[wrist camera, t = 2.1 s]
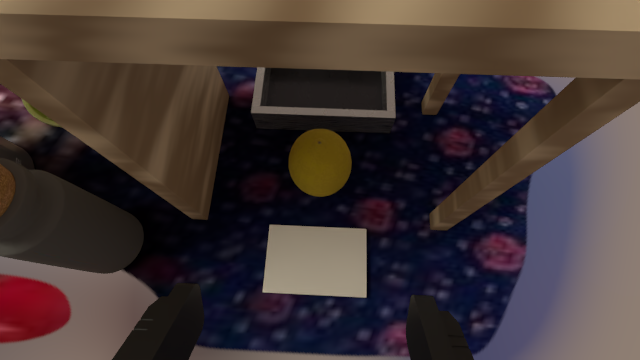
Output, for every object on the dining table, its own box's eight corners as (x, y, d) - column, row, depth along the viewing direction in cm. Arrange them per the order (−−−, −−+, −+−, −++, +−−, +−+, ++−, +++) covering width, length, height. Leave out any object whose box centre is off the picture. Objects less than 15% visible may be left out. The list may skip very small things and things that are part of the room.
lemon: (359, 174, 34) (369, 135, 26) (326, 218, 32) (327, 189, 25) (314, 145, 35) (311, 100, 28) (281, 186, 33) (268, 150, 26)
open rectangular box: (256, 128, 36) (250, 112, 33) (265, 62, 39) (260, 42, 36) (389, 133, 35) (395, 118, 33) (387, 65, 39) (392, 46, 36)
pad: (263, 292, 30) (262, 292, 30) (270, 225, 32) (269, 224, 32) (365, 297, 30) (366, 297, 29) (365, 229, 32) (366, 228, 31)
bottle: (142, 270, 31) (-10, 235, 17) (76, 277, 31) (-133, 248, 17) (147, 208, 33) (15, 131, 19) (85, 214, 33) (-93, 142, 19)
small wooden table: (192, 218, 32) (-103, 10, 10) (215, 95, 37) (54, -228, 15) (446, 230, 32) (740, 34, 9) (435, 102, 37) (608, -223, 14)
